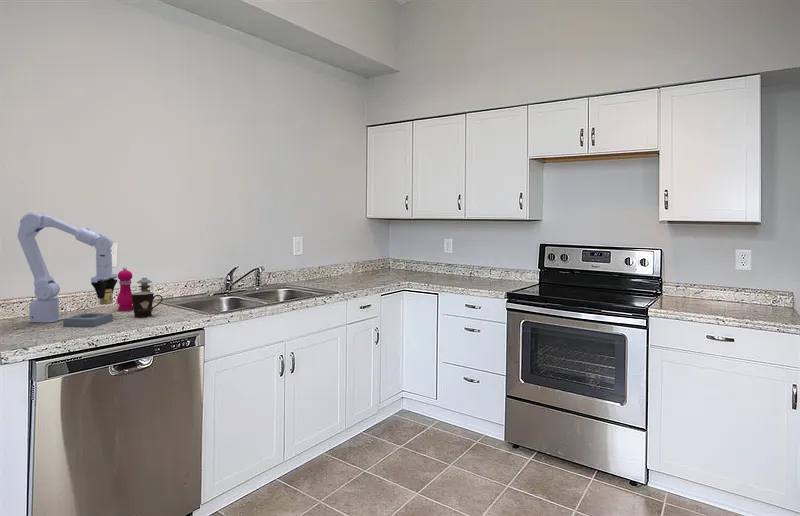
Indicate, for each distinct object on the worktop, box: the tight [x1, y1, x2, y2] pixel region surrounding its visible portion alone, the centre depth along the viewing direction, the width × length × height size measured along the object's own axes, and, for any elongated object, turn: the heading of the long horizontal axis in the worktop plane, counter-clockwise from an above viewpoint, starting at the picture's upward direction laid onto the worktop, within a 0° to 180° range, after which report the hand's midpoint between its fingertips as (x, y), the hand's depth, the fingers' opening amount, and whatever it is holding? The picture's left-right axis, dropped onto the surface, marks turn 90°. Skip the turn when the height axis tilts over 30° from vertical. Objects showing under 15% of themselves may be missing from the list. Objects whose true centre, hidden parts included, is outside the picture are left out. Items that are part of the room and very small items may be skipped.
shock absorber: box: [136, 277, 153, 292], centre depth 224 cm, size 6×6×15 cm
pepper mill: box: [116, 266, 134, 312], centre depth 224 cm, size 7×7×20 cm
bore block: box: [62, 312, 114, 328], centre depth 194 cm, size 12×12×3 cm
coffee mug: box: [131, 291, 164, 318], centre depth 211 cm, size 12×9×10 cm
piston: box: [98, 289, 114, 306], centre depth 205 cm, size 5×5×6 cm
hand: (105, 297), depth 205 cm, fingers closed on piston, 5 cm apart
